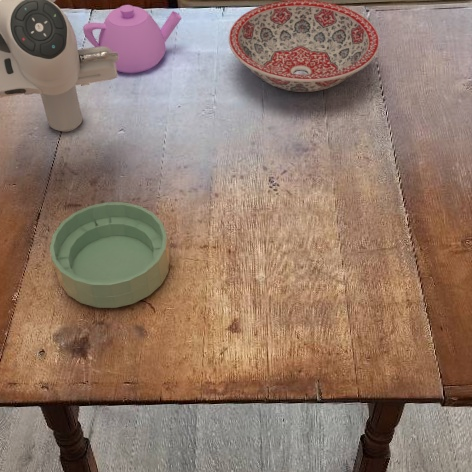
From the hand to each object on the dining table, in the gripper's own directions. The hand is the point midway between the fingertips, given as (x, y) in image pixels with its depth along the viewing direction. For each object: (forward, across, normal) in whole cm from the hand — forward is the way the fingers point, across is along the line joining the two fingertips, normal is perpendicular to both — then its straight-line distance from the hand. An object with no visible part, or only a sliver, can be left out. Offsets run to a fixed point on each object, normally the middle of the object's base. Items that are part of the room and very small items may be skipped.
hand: (56, 85), depth 114 cm
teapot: (+27, -17, -9) cm, 33 cm away
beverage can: (+14, 0, +4) cm, 14 cm away
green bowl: (-14, -3, +32) cm, 35 cm away
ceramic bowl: (+16, -48, +2) cm, 51 cm away
